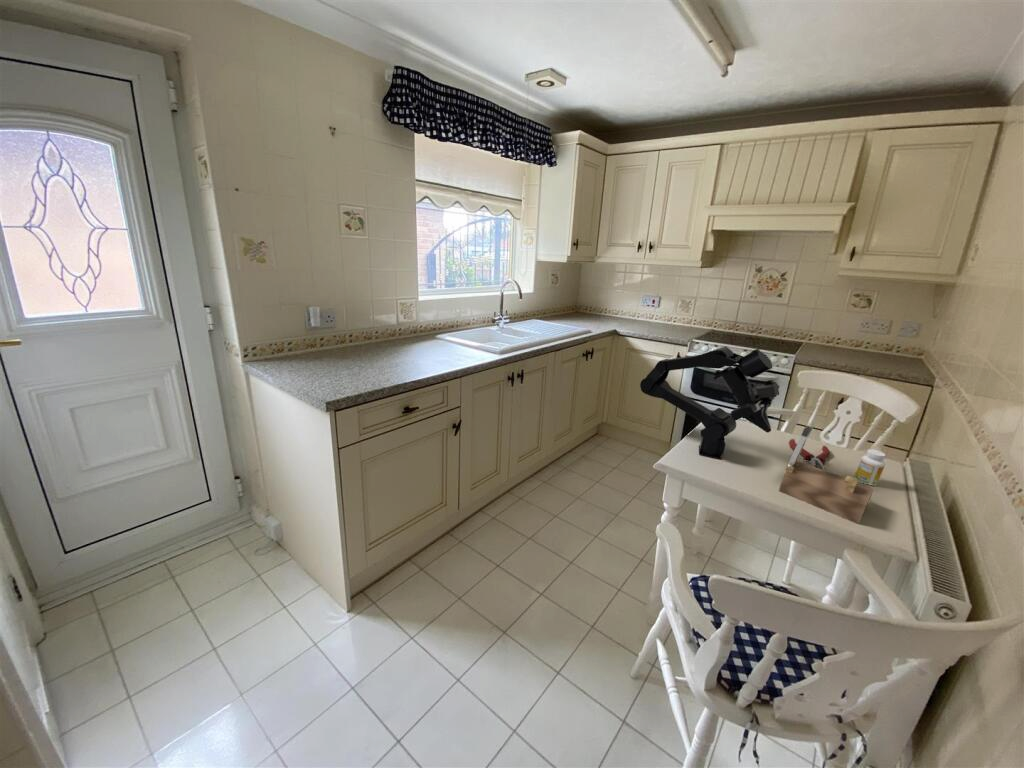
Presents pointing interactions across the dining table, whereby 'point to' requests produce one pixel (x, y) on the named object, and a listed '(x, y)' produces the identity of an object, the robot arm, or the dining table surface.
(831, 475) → the storage box
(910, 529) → the dining table surface
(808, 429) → the latch lever
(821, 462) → the pliers
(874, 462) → the supplement bottle
